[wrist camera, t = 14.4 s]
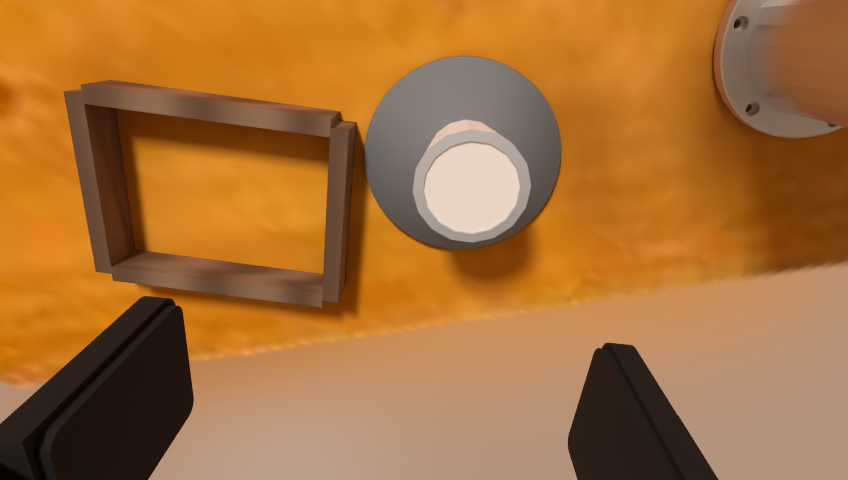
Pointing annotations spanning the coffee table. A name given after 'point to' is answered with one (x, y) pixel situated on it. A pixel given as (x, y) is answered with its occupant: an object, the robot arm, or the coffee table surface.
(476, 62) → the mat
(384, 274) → the coffee table surface
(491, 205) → the white cylinder
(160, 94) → the brown rectangular frame
